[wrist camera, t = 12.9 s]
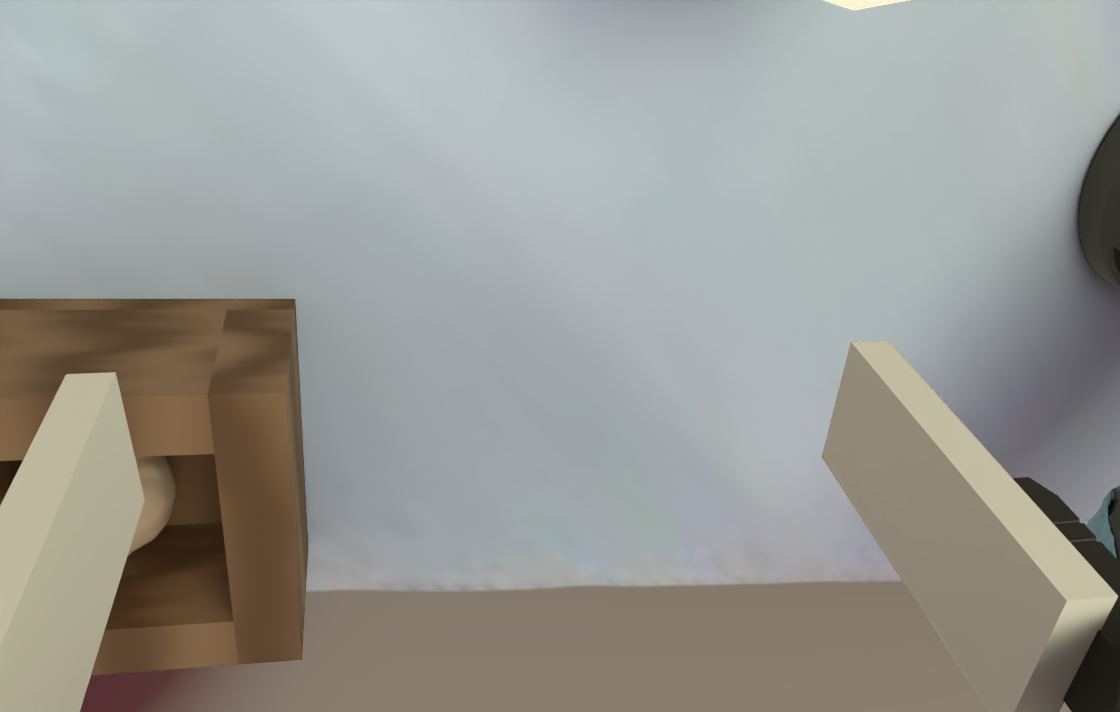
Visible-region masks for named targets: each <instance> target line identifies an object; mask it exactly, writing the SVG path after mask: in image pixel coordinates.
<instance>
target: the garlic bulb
mask: <svg viewBox="0 0 1120 712" xmlns="http://www.w3.org/2000/svg"><path fill="white" fill-rule="evenodd" d="M135 459H136V464H137V468H138V473H139V477H140V481H141V486H142V490H143V495H144V499H145V501H144V504H143V507H142V510H141V514H140V517H139V520H138V523H137V527H136V530H135V533H134V536H133V540H132V543H131V546H130V549H129V553H128V556H129V555H130V554H131V553H132V552H133V551H135V550H137V549H139V548H140V547H142V546H143V545H145V544H147V543H148V542H150V541H152V540H153V539H154V538H155V537H156V536H157V535H158V534H159V533H160V531H161V530H162V529H163V528H164V526H165V525H166V524H167V522H168V520H169V518H170V516H171V514H172V510H173V504H174V500H175V497H176V483H175V479H174V475H173V472H172V469H171V466H170V464H169V462H168V460H167V459H166V457H165V456H139V457H135Z"/></svg>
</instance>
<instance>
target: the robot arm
mask: <svg viewBox="0 0 1120 712" xmlns="http://www.w3.org/2000/svg"><path fill="white" fill-rule="evenodd" d="M1079 234H1080V240H1081V244H1082V248H1083V251H1084V254H1085V256H1086V258H1087V260H1088V262H1089V264H1090V265H1091V267H1092V268H1093V270H1094V271H1095V272H1096V273H1097V274H1098V275H1099V276H1100V277H1101V278H1102V279H1103V280H1104V281H1106V282H1107V283H1108V284H1110V285H1111V286H1113V287H1114V288H1116V289H1117V290H1119V291H1120V118H1119V119H1118V121H1117V122H1116V123H1115V125H1114V126H1113V128H1112V129H1111V131H1110V132H1109V134H1108V135H1107V137H1106V139H1105V140H1104V142H1103V144H1102V145H1101V147H1100V149H1099V151H1098V153H1097V155H1096V157H1095V159H1094V161H1093V164H1092V166H1091V168H1090V171H1089V173H1088V176H1087V179H1086V182H1085V185H1084V189H1083V193H1082V197H1081V203H1080V210H1079ZM822 458H823V460H824V461H825V463H826V464H827V466H828V467H829V469H830V470H831V472H832V473H833V475H834V477H835V478H836V480H837V481H838V483H839V484H840V486H841V487H842V489H843V490H844V492H845V493H846V495H847V496H848V498H849V500H850V501H851V503H852V504H853V506H854V507H855V509H856V510H857V512H858V513H859V515H860V516H861V518H862V519H863V521H864V523H865V524H866V526H867V527H868V529H869V530H870V532H871V533H872V535H873V536H874V538H875V539H876V541H877V542H878V544H879V546H880V547H881V549H882V550H883V552H884V553H885V555H886V556H887V558H888V559H889V561H890V562H891V564H892V565H893V567H894V569H895V570H896V572H897V573H898V575H899V576H900V578H901V579H902V581H903V582H904V584H905V585H906V587H907V588H908V590H909V592H910V593H911V595H912V596H913V598H914V599H915V601H916V602H917V604H918V605H919V607H920V608H921V610H922V612H923V613H924V615H925V616H926V617H927V619H928V621H929V622H930V623H931V625H932V627H933V628H934V630H935V631H936V633H937V635H938V636H939V638H940V639H941V641H942V642H943V644H944V645H945V647H946V648H947V650H948V651H949V653H950V654H951V656H952V658H953V659H954V661H955V662H956V664H957V665H958V667H959V668H960V670H961V671H962V673H963V674H964V676H965V677H966V679H967V680H968V682H969V683H970V685H971V687H972V688H973V690H974V691H975V692H976V694H977V696H978V697H979V699H980V700H981V702H982V704H983V705H984V706H985V708H986V710H987V711H988V712H1059V711H1060V709H1061V707H1062V705H1063V703H1064V702H1065V703H1066V704H1067V706H1068V707H1069V708H1070V710H1071V711H1072V712H1120V486H1119V487H1117V488H1114V489H1112V490H1111V491H1110V492H1109V493H1108V494H1107V495H1106V497H1105V498H1104V501H1103V503H1102V505H1101V509H1100V510H1099V511H1098V512H1097V513H1096V514H1095V515H1094V516H1093V518H1092V519H1091V520H1090V521H1089V522H1088V523H1087V524H1086V525H1085V524H1084V523H1080V522H1079V518H1078V517H1077V516H1076V515H1075V514H1074V513H1073V512H1072V510H1071V509H1070V508H1069V507H1068V506H1067V505H1066V504H1065V503H1064V502H1063V501H1062V500H1061V499H1060V498H1059V497H1058V496H1057V495H1055V494H1054V493H1052V492H1051V491H1049V490H1048V489H1046V488H1044V487H1043V486H1041V485H1040V484H1038V483H1037V482H1035V481H1034V480H1032V479H1031V478H1029V477H1025V478H1012V477H1011V476H1010V475H1009V474H1008V473H1007V472H1006V471H1005V470H1004V468H1003V467H1002V466H1001V465H1000V464H999V463H998V462H997V461H996V460H995V458H994V457H993V456H992V455H991V454H990V453H989V452H988V451H987V450H986V448H985V447H984V446H983V445H982V444H981V443H980V442H979V441H978V440H977V438H976V437H975V436H974V435H973V434H972V433H971V432H970V431H969V430H968V428H967V427H966V426H965V425H964V424H963V423H962V422H961V421H960V420H959V418H958V417H957V416H956V415H955V414H954V413H953V412H952V411H951V410H950V408H949V407H948V406H947V405H946V404H945V403H944V402H943V401H942V400H941V398H940V397H939V396H938V395H937V394H936V393H935V392H934V391H933V390H932V388H931V387H930V386H929V385H928V384H927V383H926V382H925V381H924V380H923V378H922V377H921V376H920V375H919V374H918V373H917V372H916V371H915V370H914V368H913V367H912V366H911V365H910V364H909V363H908V362H907V361H906V360H905V358H904V357H903V356H902V355H901V354H900V353H899V352H898V351H897V350H896V348H895V347H894V346H893V345H892V344H891V343H890V342H889V341H888V340H887V341H862V342H851V344H850V348H849V352H848V356H847V360H846V364H845V368H844V372H843V376H842V380H841V384H840V388H839V392H838V395H837V399H836V403H835V407H834V411H833V415H832V419H831V423H830V427H829V431H828V435H827V439H826V443H825V446H824V450H823V454H822ZM144 501H145V499H144V495H143V490H142V486H141V481H140V477H139V473H138V468H137V464H136V459H135V455H134V451H133V446H132V442H131V437H130V433H129V429H128V424H127V420H126V415H125V411H124V407H123V402H122V398H121V393H120V389H119V385H118V380H117V376H116V372H109V373H84V374H66V375H65V377H64V379H63V381H62V383H61V385H60V387H59V389H58V391H57V393H56V395H55V397H54V399H53V401H52V403H51V405H50V407H49V409H48V411H47V413H46V415H45V417H44V419H43V421H42V423H41V425H40V427H39V429H38V431H37V433H36V435H35V437H34V439H33V441H32V443H31V445H30V447H29V449H28V451H27V453H26V455H25V457H24V459H23V461H22V463H21V465H20V467H19V469H18V471H17V473H16V475H15V477H14V479H13V481H12V483H11V485H10V487H9V489H8V491H7V493H6V495H5V497H4V499H3V501H2V503H1V505H0V712H80V709H81V706H82V702H83V699H84V696H85V693H86V689H87V686H88V683H89V680H90V676H91V673H92V670H93V667H94V663H95V660H96V657H97V654H98V650H99V647H100V644H101V641H102V637H103V634H104V631H105V628H106V624H107V621H108V618H109V615H110V611H111V608H112V605H113V602H114V598H115V595H116V592H117V589H118V585H119V582H120V579H121V576H122V572H123V569H124V566H125V563H126V559H127V556H128V553H129V549H130V546H131V543H132V540H133V536H134V533H135V530H136V527H137V523H138V520H139V517H140V514H141V510H142V507H143V504H144Z"/></svg>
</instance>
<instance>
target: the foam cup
mask: <svg viewBox="0 0 1120 712" xmlns="http://www.w3.org/2000/svg"><path fill="white" fill-rule="evenodd" d="M824 1H827V2H830V3H832V4H835V5H838V6H841V7H844V8H847V9H850V10H853V11H854V10H860V9H865V8H870V7H876V6H881V5H887V4H892V3H897V2H903V1H908V0H824Z"/></svg>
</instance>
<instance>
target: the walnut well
mask: <svg viewBox="0 0 1120 712" xmlns="http://www.w3.org/2000/svg"><path fill="white" fill-rule="evenodd" d="M109 372H116V376H117V380H118V385H119V389H120V393H121V398H122V402H123V407H124V411H125V415H126V420H127V424H128V429H129V433H130V437H131V442H132V446H133V451H134V455H135V457H139V456H165V457H166V459H167V460H168V462H169V464H170V466H171V469H172V472H173V475H174V479H175V483H176V497H175V500H174V504H173V510H172V514H171V516H170V518H169V520H168V522H167V524H166V525H165V526H164V528H163V529H162V530H161V531H160V533H159V534H158V535H157V536H156V537H155V538H154V539H153V540H152V541H150V542H148V543H147V544H145V545H143V546H142V547H140V548H139V549H137V550H135V551H133V552H132V553H131V554H130V555H129V556H127V559H126V563H125V566H124V569H123V572H122V576H121V579H120V582H119V585H118V589H117V592H116V595H115V598H114V602H113V605H112V608H111V611H110V615H109V618H108V621H107V624H106V628H105V631H104V634H103V637H102V641H101V644H100V647H99V650H98V654H97V657H96V660H95V663H94V667H93V670H92V673H91V675H105V674H118V673H131V672H144V671H157V670H171V669H183V668H196V667H209V666H223V665H236V664H249V663H263V662H275V661H289V660H302V646H303V629H304V611H305V594H306V577H307V559H308V534H307V515H306V496H305V477H304V458H303V439H302V420H301V401H300V382H299V363H298V344H297V325H296V306H295V299H0V505H1V503H2V501H3V499H4V497H5V495H6V493H7V491H8V489H9V487H10V485H11V483H12V481H13V479H14V477H15V475H16V473H17V471H18V469H19V467H20V465H21V463H22V461H23V459H24V457H25V455H26V453H27V451H28V449H29V447H30V445H31V443H32V441H33V439H34V437H35V435H36V433H37V431H38V429H39V427H40V425H41V423H42V421H43V419H44V417H45V415H46V413H47V411H48V409H49V407H50V405H51V403H52V401H53V399H54V397H55V395H56V393H57V391H58V389H59V387H60V385H61V383H62V381H63V379H64V377H65V375H66V374H84V373H109Z"/></svg>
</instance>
